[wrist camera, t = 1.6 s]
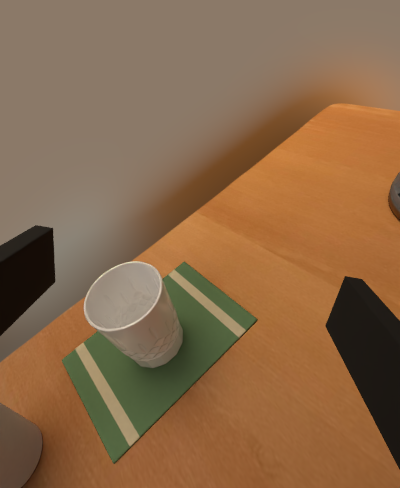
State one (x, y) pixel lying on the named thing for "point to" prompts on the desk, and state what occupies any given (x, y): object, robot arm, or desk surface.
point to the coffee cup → (17, 448)
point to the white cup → (135, 313)
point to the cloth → (159, 378)
